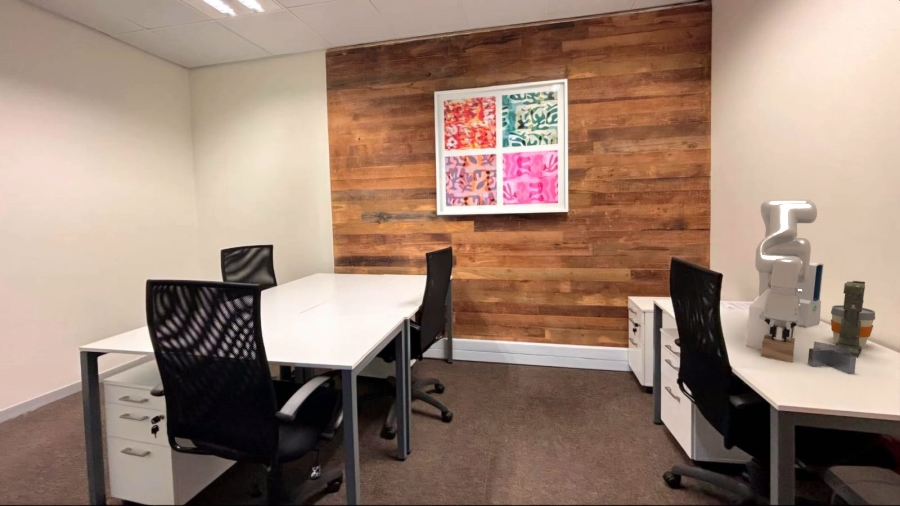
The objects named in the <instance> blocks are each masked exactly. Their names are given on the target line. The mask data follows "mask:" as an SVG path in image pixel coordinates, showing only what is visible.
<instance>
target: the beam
mask: <svg viewBox="0 0 900 506" xmlns="http://www.w3.org/2000/svg"><path fill="white" fill-rule="evenodd" d="M795 341H796V339H795V337H793V338H790V339H784V342H780V341H774V337H772V336H768V335H764V338H763V341H762V349H761V352H760V353H761V354H760V357H762V356H763V358H766V359H767V358H768V359H772V358H773V359H774V360H777V361H782V360H783V362H787V361H788V362H787V363H793V361H794V360H793V359H794V353H795V352H794V350H795Z"/></svg>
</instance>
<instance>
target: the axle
mask: <svg viewBox="0 0 900 506" xmlns="http://www.w3.org/2000/svg"><path fill="white" fill-rule="evenodd" d="M784 331H785V327H784V326H780V325H775V332H774V341H780V342H784Z"/></svg>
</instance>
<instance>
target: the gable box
mask: <svg viewBox="0 0 900 506" xmlns="http://www.w3.org/2000/svg"><path fill="white" fill-rule="evenodd" d="M770 290H771V280H770V281H769V282H768V287H767V288H766V289H765V290H764V291H763V292H762V293H761V294H760V295H759V294H758V296H756V297H755V298H754V300H753V301H752V303H750V305H749V307H748V309H749V310H748V320H747V321H748V322H747V334H746V344H745V345H746V347H748V346H749V347H748V348H753V347H755V349H758V348H760V349H759V350H762V341H763V338H764V335H768V336H772V334H770V326H769V325H768V324H767V323H766V322H765V321H764V320H762V319H760V318H759V316H760V314H761V313H762V312H763V311H764V308H765V302H766V297H767V294H768V292H770ZM768 319H769V318H768ZM769 320H771V319H769ZM791 323H793V322H791ZM774 325H780V326H784V327H785V328H786V321H782V320H775V321H774ZM794 330H795V327H793V328H791V329H790V332H789V337H787V338H786V339H790V338H794V332H795V331H794Z"/></svg>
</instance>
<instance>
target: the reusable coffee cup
mask: <svg viewBox="0 0 900 506" xmlns="http://www.w3.org/2000/svg"><path fill="white" fill-rule="evenodd" d="M843 306H844V304H843V305H841V304H840V305H839V304H838V305H836V304H835V305H832V307H831V311H830V314H831V319H830V325H831V326H830V328H831V331H832V336H833V344H835V343H836V342H838V339H839V335H840V326H841V319H842V318H844V309H843ZM875 320H876V312H875V310H873V309H869V308H865V307H862V312H859V321H861V329H860V335H859V346H861V347H862V348H861V349H865V348H866V344H867V342H868V339H869V337H871V335H872V331H873V329H874V325H873V323H874V321H875Z"/></svg>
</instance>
